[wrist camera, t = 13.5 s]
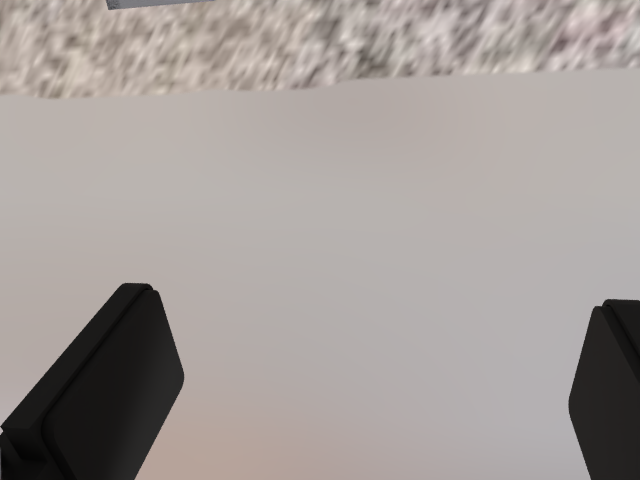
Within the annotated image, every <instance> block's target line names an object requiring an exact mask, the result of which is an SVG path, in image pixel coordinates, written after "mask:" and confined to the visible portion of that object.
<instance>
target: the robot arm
mask: <svg viewBox="0 0 640 480" xmlns="http://www.w3.org/2000/svg"><path fill="white" fill-rule="evenodd" d="M183 382H184V372H183V368H182V365H181V362H180V359H179V356H178V352H177V349H176V346H175V342H174V339H173V336H172V333H171V330H170V327H169V323H168V320H167V317H166V314H165V310H164V307H163V304H162V301H161V297H160V295H159V292H158V291H156V290H153V288H152V286H150V285H149V284H143V283H124V284H122V285H121V286H120V287H119V288H118V289H117V290H116V291H115V292H114V294H113V295H112V296H111V297H110V298H109V300H108V301H107V302H106V303H105V304H104V305H103V307H102V308H101V309H100V310H99V311H98V312H97V314H96V315H95V316H94V317H93V318H92V319H91V321H90V322H89V323H88V324H87V325H86V327H85V328H84V329H83V330H82V331H81V332H80V333H79V335H78V336H77V337H76V338H75V339H74V340H73V342H72V343H71V344H70V345H69V347H68V348H67V349H66V350H65V351H64V352H63V353H62V355H61V356H60V357H59V358H58V359H57V360H56V362H55V363H54V364H53V365H52V366H51V367H50V369H49V370H48V371H47V372H46V373H45V374H44V376H43V377H42V378H41V379H40V380H39V382H38V383H37V384H36V385H35V386H34V387H33V389H32V390H31V391H30V392H29V393H28V394H27V396H26V397H25V398H24V399H23V400H22V402H21V403H20V404H19V405H18V406H17V407H16V408H15V410H14V411H13V412H12V413H11V415H10V416H9V417H8V418H7V419H6V420H5V421H4V423H3V424H2V425H1V426H0V427H1V428H2V430H3V432H2V434H1V435H0V480H134V479H135V477H136V475H137V474H138V471H139V469H140V468H141V466H142V464H143V462H144V460H145V458H146V456H147V454H148V452H149V450H150V448H151V446H152V445H153V443H154V441H155V439H156V437H157V435H158V433H159V431H160V429H161V427H162V425H163V423H164V421H165V419H166V418H167V415H168V414H169V412H170V410H171V408H172V406H173V404H174V402H175V400H176V398H177V396H178V394H179V392H180V390H181V388H182V386H183ZM569 414H570V418H571V421H572V424H573V427H574V430H575V433H576V436H577V439H578V442H579V445H580V448H581V451H582V454H583V457H584V460H585V463H586V466H587V469H588V472H589V475H590V478H591V480H640V301H639V300H617V299H607V300H605V301H604V303H603V305H602V306H595V307H594V309H593V311H592V314H591V318H590V321H589V325H588V329H587V333H586V336H585V340H584V344H583V348H582V351H581V355H580V359H579V363H578V366H577V370H576V374H575V378H574V381H573V385H572V389H571V393H570V396H569Z"/></svg>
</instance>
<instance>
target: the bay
mask: <svg viewBox="0 0 640 480" xmlns="http://www.w3.org/2000/svg"><path fill="white" fill-rule="evenodd" d="M204 1H214V0H106V3H107V6H108V10H114V9H125V8H136V7H148V6H159V5H170V4H182V3H193V2H204Z"/></svg>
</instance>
